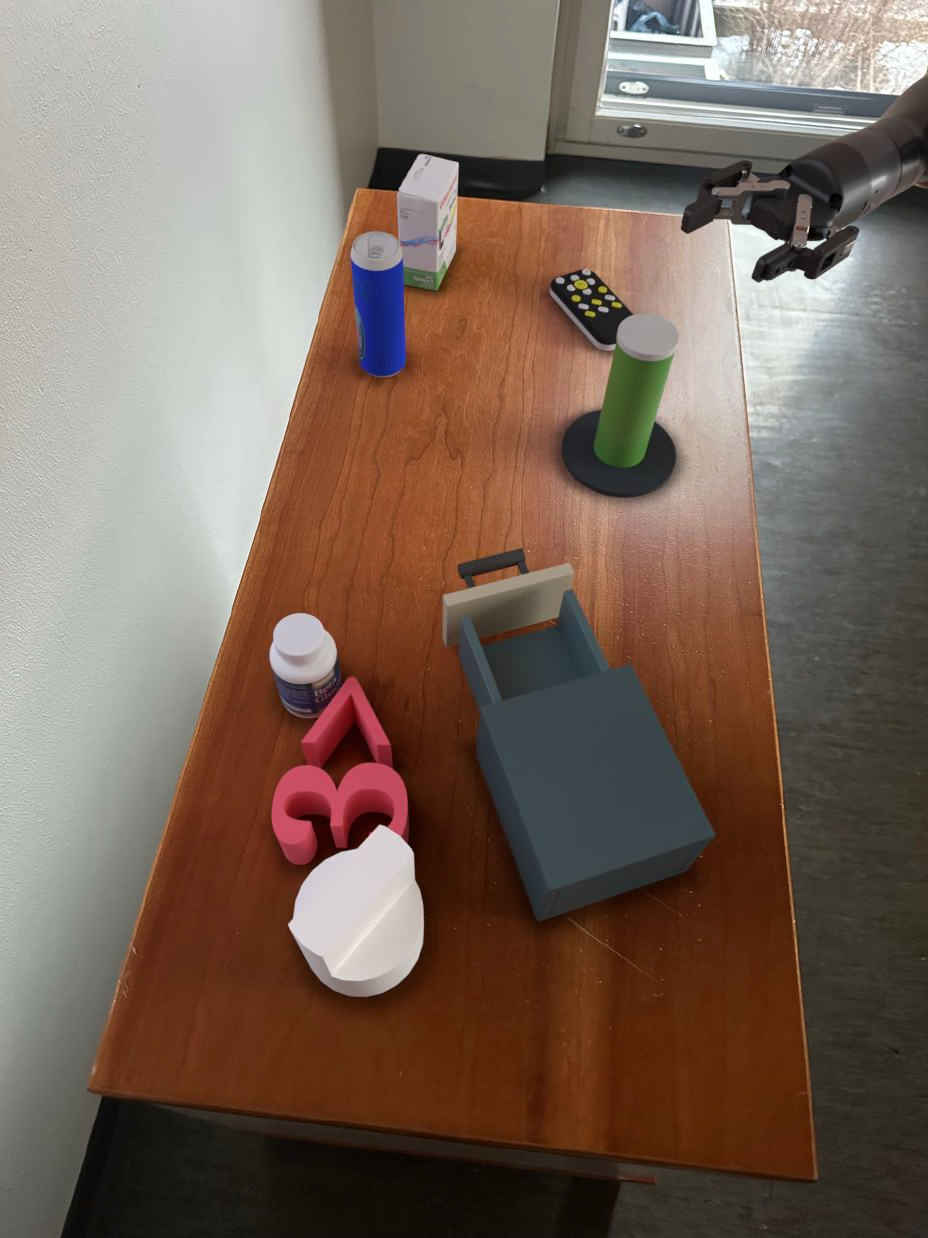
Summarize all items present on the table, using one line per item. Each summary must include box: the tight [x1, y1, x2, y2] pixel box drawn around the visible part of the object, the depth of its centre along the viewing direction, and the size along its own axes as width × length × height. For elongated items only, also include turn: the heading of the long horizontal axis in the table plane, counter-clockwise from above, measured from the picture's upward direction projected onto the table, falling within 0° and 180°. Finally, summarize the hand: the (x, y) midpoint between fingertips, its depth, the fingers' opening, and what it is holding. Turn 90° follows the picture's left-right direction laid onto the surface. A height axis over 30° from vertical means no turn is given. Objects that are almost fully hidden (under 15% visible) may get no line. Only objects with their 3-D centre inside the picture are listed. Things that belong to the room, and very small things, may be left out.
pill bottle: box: [269, 612, 343, 719], centre depth 74 cm, size 5×5×10 cm
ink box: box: [396, 153, 460, 292], centre depth 104 cm, size 8×5×12 cm, turn 164°
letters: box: [271, 676, 410, 866], centre depth 71 cm, size 14×10×5 cm
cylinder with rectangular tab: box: [287, 824, 425, 998], centre depth 62 cm, size 9×9×12 cm
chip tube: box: [594, 313, 681, 468], centre depth 87 cm, size 6×6×15 cm
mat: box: [560, 409, 677, 498], centre depth 94 cm, size 12×12×1 cm
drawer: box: [441, 547, 612, 713], centre depth 76 cm, size 18×11×7 cm, turn 18°
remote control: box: [549, 268, 635, 352], centre depth 105 cm, size 6×13×2 cm, turn 28°
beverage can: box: [350, 230, 407, 379], centre depth 94 cm, size 5×5×15 cm
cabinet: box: [475, 663, 716, 923], centre depth 69 cm, size 15×13×9 cm
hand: (720, 246), depth 78 cm, fingers open, 8 cm apart
